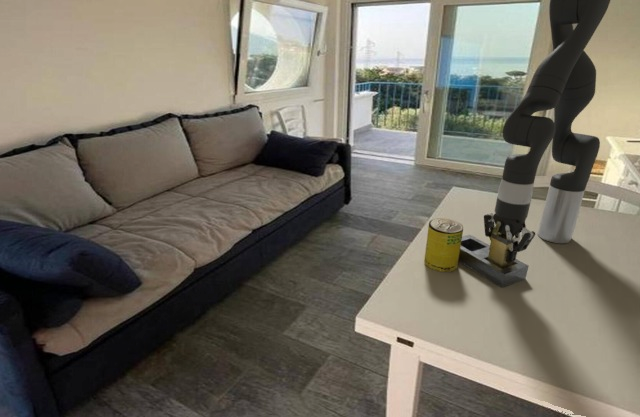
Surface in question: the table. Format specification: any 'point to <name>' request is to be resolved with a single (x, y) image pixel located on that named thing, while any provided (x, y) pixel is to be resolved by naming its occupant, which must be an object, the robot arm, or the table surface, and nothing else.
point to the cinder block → (489, 263)
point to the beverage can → (443, 244)
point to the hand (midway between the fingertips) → (501, 257)
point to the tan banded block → (499, 250)
